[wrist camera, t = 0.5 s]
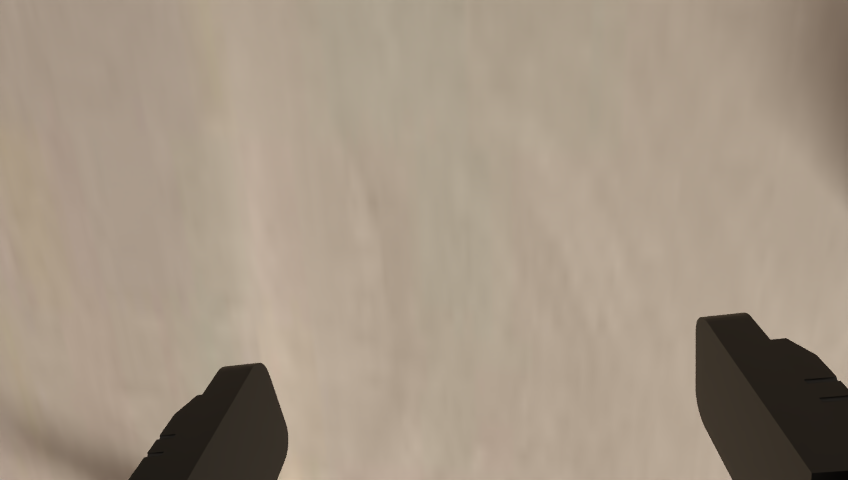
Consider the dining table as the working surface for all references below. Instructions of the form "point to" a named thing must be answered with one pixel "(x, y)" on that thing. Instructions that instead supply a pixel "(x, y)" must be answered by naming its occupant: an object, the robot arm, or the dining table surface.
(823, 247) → the dining table surface
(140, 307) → the dining table surface
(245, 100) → the dining table surface
